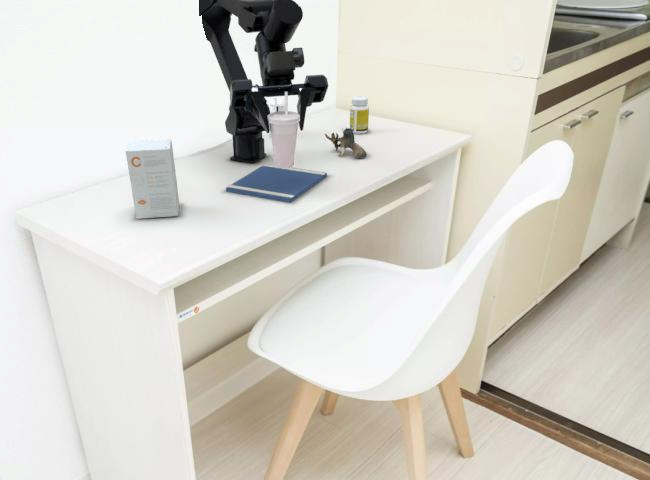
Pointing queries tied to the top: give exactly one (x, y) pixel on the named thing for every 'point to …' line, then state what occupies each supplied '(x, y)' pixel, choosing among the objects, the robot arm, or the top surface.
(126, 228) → the top surface
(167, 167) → the small box
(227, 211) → the top surface
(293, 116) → the smoothie
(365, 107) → the supplement bottle
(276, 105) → the milkshake
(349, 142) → the eagle figurine
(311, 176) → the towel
